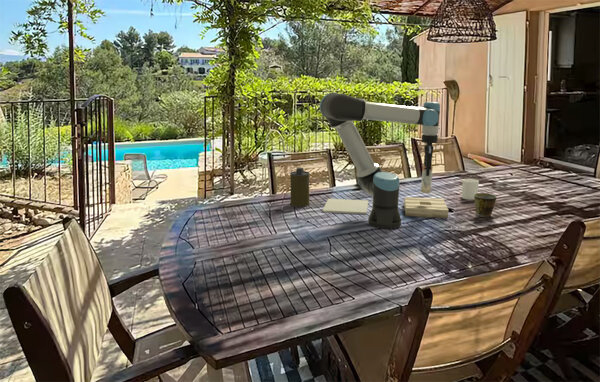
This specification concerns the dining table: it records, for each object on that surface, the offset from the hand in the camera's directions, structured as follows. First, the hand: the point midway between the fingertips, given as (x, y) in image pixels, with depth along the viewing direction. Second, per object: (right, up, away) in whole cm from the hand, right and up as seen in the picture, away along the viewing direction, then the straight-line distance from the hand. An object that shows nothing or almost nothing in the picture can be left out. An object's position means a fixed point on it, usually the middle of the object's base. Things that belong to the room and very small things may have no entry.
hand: (426, 180), depth 222 cm
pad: (-39, -14, +11) cm, 43 cm away
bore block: (0, -15, +4) cm, 16 cm away
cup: (+32, -9, +29) cm, 44 cm away
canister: (-63, -12, +17) cm, 67 cm away
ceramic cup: (+26, -18, -5) cm, 32 cm away
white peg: (0, -6, +1) cm, 6 cm away
